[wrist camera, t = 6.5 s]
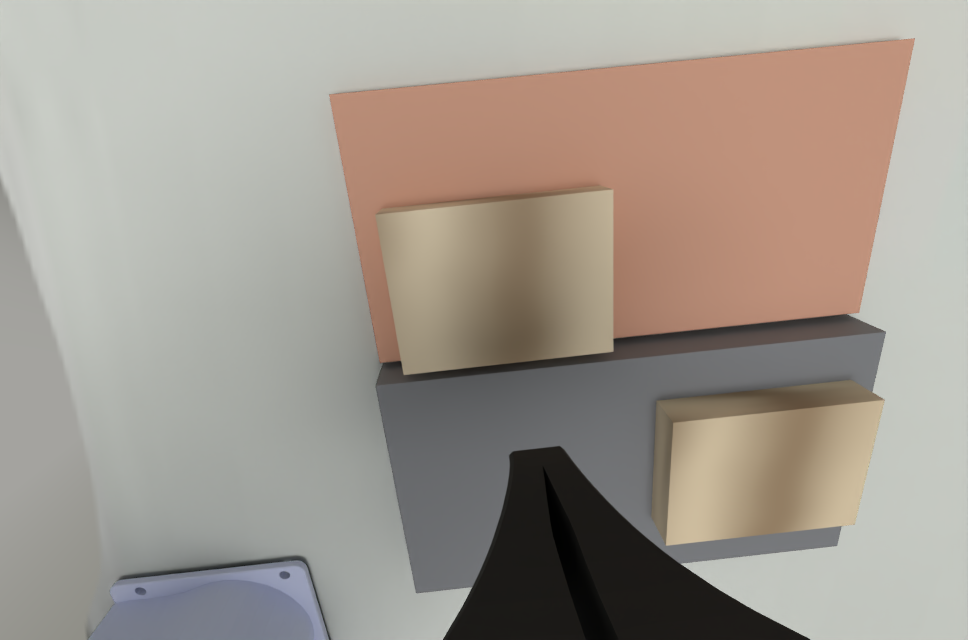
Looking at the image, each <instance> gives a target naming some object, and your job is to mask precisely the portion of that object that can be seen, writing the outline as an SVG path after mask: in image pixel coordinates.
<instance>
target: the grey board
mask: <svg viewBox="0 0 968 640" xmlns="http://www.w3.org/2000/svg"><path fill="white" fill-rule="evenodd" d="M885 334H886V332H885V331H883V330H881V329H878V328H876V327H874V326H872V325H869V324H867V323H865V322H863V321H860V320H858V319H856V318H853V317H851V316H849V315H847V314H846V315H837V316H827V317H818V318H808V319H799V320H789V321H780V322H770V323H761V324H751V325H742V326H732V327H723V328H713V329H704V330H694V331H684V332H675V333H665V334H656V335H646V336H637V337H627V338H618V339H613V352H607V353H598V354H589V355H580V356H571V357H562V358H553V359H544V360H535V361H526V362H517V363H508V364H499V365H490V366H481V367H472V368H463V369H454V370H445V371H436V372H427V373H418V374H409V375H404V374H403V369H402V363H401V361H399V362H389V363H383V365H382V368H381V371H380V374H379V377H378V380H377V383H376V391H377V396H378V401H379V406H380V411H381V416H382V421H383V426H384V432H385V437H386V442H387V447H388V452H389V457H390V462H391V467H392V472H393V477H394V483H395V488H396V493H397V498H398V503H399V508H400V513H401V518H402V523H403V529H404V534H405V539H406V544H407V549H408V554H409V559H410V564H411V569H412V574H413V580H414V585H415V590H416V593H423V592H432V591H441V590H450V589H459V588H468V587H473V585H474V583H475V581H476V578H477V576H478V574H479V572H480V570H481V568H482V565H483V563H484V561H485V558H486V556H487V553H488V551H489V548H490V545H491V543H492V540H493V537H494V534H495V531H496V528H497V525H498V521H499V518H500V515H501V512H502V508H503V503H504V499H505V495H506V490H507V485H508V478H509V469H510V461H509V455H510V454H511V453H512V452H513V451H519V450H528V449H537V448H546V447H555V446H561V447H562V448H563V449H564V450H565V451H566V453H567V454H568V455H569V457H570V458H571V459H572V461H573V462H574V463H575V464H576V466H577V467H578V468H579V469H580V471H581V472H582V473H583V474H584V475H585V477H586V478H587V479H588V480H589V481H590V482H591V483H592V485H593V486H594V487H595V488H596V489H597V490H598V491H599V492H600V493H601V494H602V495H603V496H604V498H605V499H606V500H607V501H608V502H609V503H610V504H611V505H612V506H613V507H614V508H615V509H616V510H617V511H618V512H619V513H620V514H621V515H622V516H623V517H624V518H626V519H627V520H628V521H629V522H630V523H631V524H632V525H633V526H634V527H635V528H636V529H637V530H639V531H640V532H641V533H642V534H643V535H644V536H645V537H647V538H648V539H649V540H650V541H651V542H653V543H654V544H655V545H656V546H658V547H659V548H660V549H661V550H663V551H664V552H665V553H666V554H668V555H669V556H670V557H672V558H673V559H674V560H676V561H677V562H678V563H680V564H681V563H690V562H698V561H707V560H716V559H725V558H734V557H743V556H752V555H760V554H769V553H778V552H787V551H796V550H805V549H814V548H823V547H831V546H837V544H838V539H839V535H840V531H841V526H837V527H828V528H819V529H811V530H802V531H793V532H784V533H775V534H766V535H757V536H748V537H739V538H730V539H721V540H712V541H703V542H695V543H686V544H677V545H668V546H666V545H665V543H664V541H663V539H662V537H661V535H660V533H659V531H658V529H657V527H656V525H655V523H654V521H653V520H652V518H651V513H652V490H653V468H654V445H655V422H656V401H659V400H668V399H678V398H687V397H696V396H706V395H715V394H724V393H734V392H743V391H752V390H762V389H771V388H780V387H789V386H799V385H808V384H817V383H827V382H836V381H845V380H852V381H854V382H856V383H857V384H859V385H861V386H862V387H864V388H866V389H867V390H869V391H871V392H872V391H873V386H874V382H875V378H876V373H877V369H878V365H879V360H880V356H881V352H882V347H883V343H884V338H885Z"/></svg>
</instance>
